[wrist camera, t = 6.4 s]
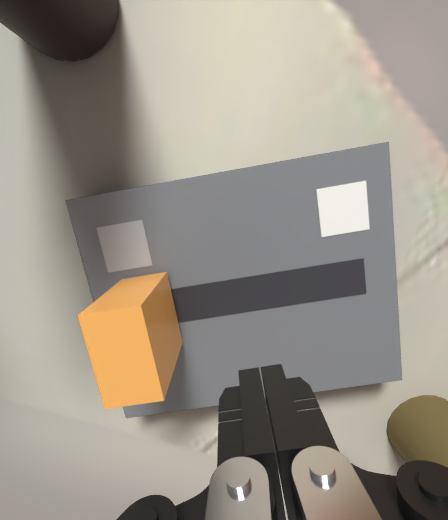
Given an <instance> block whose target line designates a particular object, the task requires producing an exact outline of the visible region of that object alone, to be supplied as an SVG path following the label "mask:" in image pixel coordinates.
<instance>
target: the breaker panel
mask: <svg viewBox="0 0 448 520" xmlns="http://www.w3.org/2000/svg"><path fill="white" fill-rule="evenodd" d="M65 201H66V204H67V208H68V211H69V215H70V219H71V222H72V226H73V229H74V233H75V237H76V240H77V244H78V247H79V251H80V255H81V258H82V262H83V265H84V269H85V273H86V276H87V280H88V283H89V287H90V291H91V294H92V298H93V301H94V302H95V301H96V300H97V299H98V298H100V297H101V296H102V295H103V294H104V293H106V292H107V291H108V290H109V289H111V288H112V287H113V286H114V285H115V284H117V283H118V282H119V281H120V280H122V279H126V278H132V277H138V276H144V275H150V274H156V273H162V272H167V274H168V278H169V283H170V287H171V292H172V297H173V301H174V306H175V310H176V315H177V319H178V324H179V328H180V333H181V338H182V346H181V349H180V352H179V355H178V358H177V361H176V365H175V368H174V371H173V374H172V377H171V381H170V384H169V387H168V390H167V393H166V397H165V400H164V401H159V402H152V403H145V404H138V405H131V406H124V407H123V409H124V413H125V416H126V418H131V417H139V416H146V415H153V414H160V413H167V412H175V411H182V410H189V409H196V408H204V407H211V406H218V405H219V398H220V396H221V395H222V393H223V391H224V389H225V388H228V387H234V386H239V373H238V370H244V369H250V368H257V367H259V371H260V376H261V381H262V386H263V380H262V373H261V367H263V366H270V365H276V364H281V365H282V367H283V370H284V373H285V376H286V379H287V378H294V377H301V378H302V379H303V380H304V381H306V382H307V383H308V384H309V385H310V386H311V388H312V391H313V392H319V391H326V390H333V389H341V388H348V387H355V386H362V385H369V384H377V383H384V382H391V381H398V380H402V367H401V350H400V332H399V314H398V296H397V278H396V260H395V242H394V225H393V207H392V189H391V171H390V153H389V142H385V143H379V144H374V145H368V146H363V147H357V148H352V149H346V150H341V151H335V152H330V153H324V154H319V155H313V156H308V157H302V158H297V159H291V160H286V161H280V162H275V163H269V164H264V165H258V166H252V167H247V168H241V169H236V170H230V171H225V172H219V173H214V174H208V175H203V176H197V177H192V178H186V179H181V180H175V181H170V182H164V183H159V184H153V185H148V186H142V187H137V188H131V189H125V190H120V191H114V192H109V193H103V194H98V195H92V196H87V197H81V198H76V199H70V200H65ZM263 391H264V386H263ZM264 396H265V392H264Z"/></svg>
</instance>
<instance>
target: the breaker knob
mask: <svg viewBox="0 0 448 520" xmlns="http://www.w3.org/2000/svg"><path fill="white" fill-rule="evenodd" d="M78 319H79V322H80V326H81V329H82V333H83V336H84V339H85V343H86V346H87V350H88V353H89V356H90V360H91V363H92V367H93V370H94V374H95V377H96V380H97V384H98V387H99V391H100V394H101V397H102V401H103V404H104V408H105V409H110V408H117V407H124V406H131V405H138V404H145V403H152V402H159V401H164V400H165V397H166V393H167V390H168V387H169V384H170V381H171V377H172V374H173V371H174V368H175V365H176V361H177V358H178V355H179V352H180V349H181V346H182V338H181V333H180V328H179V324H178V319H177V315H176V310H175V306H174V301H173V297H172V292H171V287H170V283H169V278H168V274H167V272H162V273H156V274H150V275H144V276H138V277H132V278H126V279H122V280H120V281H119V282H118V283H117V284H115V285H114V286H113V287H112V288H111V289H109V290H108V291H107V292H106V293H104V294H103V295H102V296H101V297H100V298H98V299H97V300H96V301H95V302H93V303H92V304H91V305H90V306H89V307H87V308H86V309H85V310H84V311H82V312H81V313H80V314H79V315H78Z"/></svg>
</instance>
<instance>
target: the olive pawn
mask: <svg viewBox="0 0 448 520" xmlns="http://www.w3.org/2000/svg"><path fill="white" fill-rule="evenodd" d="M387 435H388V439H389V441H390V443H391V444H392V445H393V447H394V448H395V449H396V451H397V452H398V453H399V454H400V455H401V457H402V458H403V459H404V460H405V461H406V462H410V461H415V460H426V461H431V462H435V463H438V464H441V465H443V466H445V467H448V401H447V400H446V399H443V398H440V397H437V396H419V397H415V398H411V399H409V400H407V401H406V402H404V403H402V404H400V405H399V406H398V407H397V408H396V409H395V410H394V411H393V413H392V415H391V417H390V418H389V420H388V425H387Z"/></svg>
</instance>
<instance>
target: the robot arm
mask: <svg viewBox="0 0 448 520" xmlns="http://www.w3.org/2000/svg"><path fill="white" fill-rule="evenodd" d="M238 373H239V386H234V387H228V388H225V389H224V391H223V393H222V395H221V396H220V398H219V420H218V421H219V424H218V464H217V469H216V470H215V471H214V473H213V474H212V477H211V480H210V484H209V486H208V487H207V488H206V489H205V490H204V491H203V492H201V493H200V494H198V495H197V496H195V497H194V498H191V499H189V500H187V501H185V502H183V503H181V504H179V505H177V506H175V505H174V504H173V502H172V501H171V500H170V499H169V498H167V497H165V496H161V495H150V496H146V497H144V498H141V499H139V500H138V501H136V502H135V503H133V504H132V505H131V506H129V507H128V508H127V509H126V510H125V511H124V512H123V513H122V514H121V515H120V517H119V518H118V519H117V520H286V517H285V511H284V504H283V498H282V491H281V486H280V479H281V484H282V489H283V494H284V500H285V504H286V509H287V515H288V519H289V520H448V467H445V466H443V465H441V464H438V463H435V462H431V461H426V460H415V461H410V462H407V463H405V464H404V465H402V466H401V467H400V468H399V470H398V472H397V476H391V475H385V474H379V473H373V472H369V471H366V470H363V469H361V468H358V467H356V466H355V465H353V464H352V463H350V462H349V460H348V459H347V458H346V457H345V456H344V455H343V454H342V453H340V452H339V450H338V448H337V446H336V443H335V441H334V439H333V437H332V434H331V432H330V430H329V427H328V425H327V423H326V421H325V418H324V416H323V414H322V411H321V409H320V407H319V404H318V402H317V400H316V398H315V395H314V393H313V391H312V388H311V386H310V385H309V384H308V383H307V382H306V381H304V380H303V379H302V378H301V377H294V378H287V379H286V376H285V373H284V370H283V367H282V365H281V364H276V365H270V366H263V367H261V373H262V380H263V386H264V391H263V386H262V381H261V376H260V371H259V367H257V368H250V369H244V370H238ZM264 392H265V396H264ZM265 399H266V402H265ZM266 405H267V407H266ZM267 411H268V412H267ZM276 458H277V460H276ZM277 464H278V466H277ZM278 469H279V472H278ZM279 474H280V479H279Z"/></svg>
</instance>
